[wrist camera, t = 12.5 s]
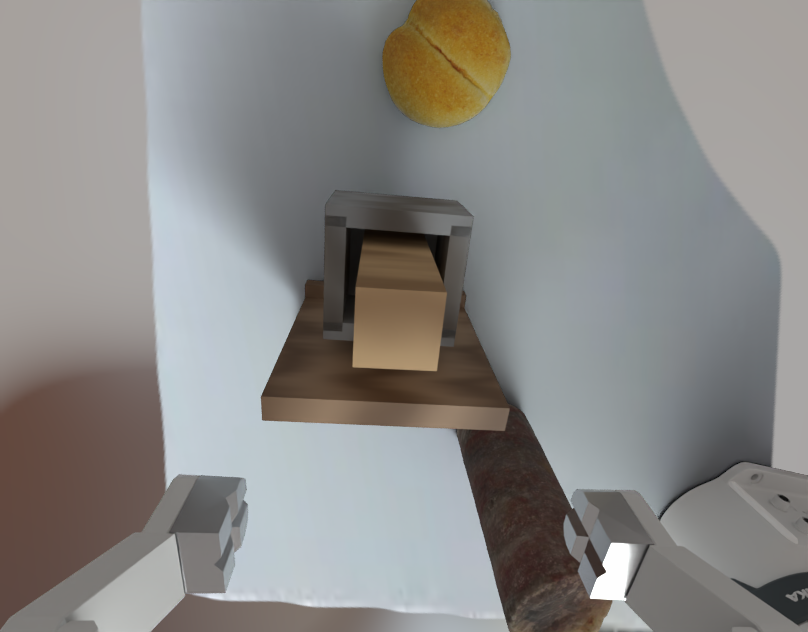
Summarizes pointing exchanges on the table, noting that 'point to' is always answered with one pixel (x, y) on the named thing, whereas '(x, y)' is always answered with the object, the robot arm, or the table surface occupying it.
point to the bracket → (334, 332)
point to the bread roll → (446, 61)
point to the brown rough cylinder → (527, 531)
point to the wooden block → (397, 303)
